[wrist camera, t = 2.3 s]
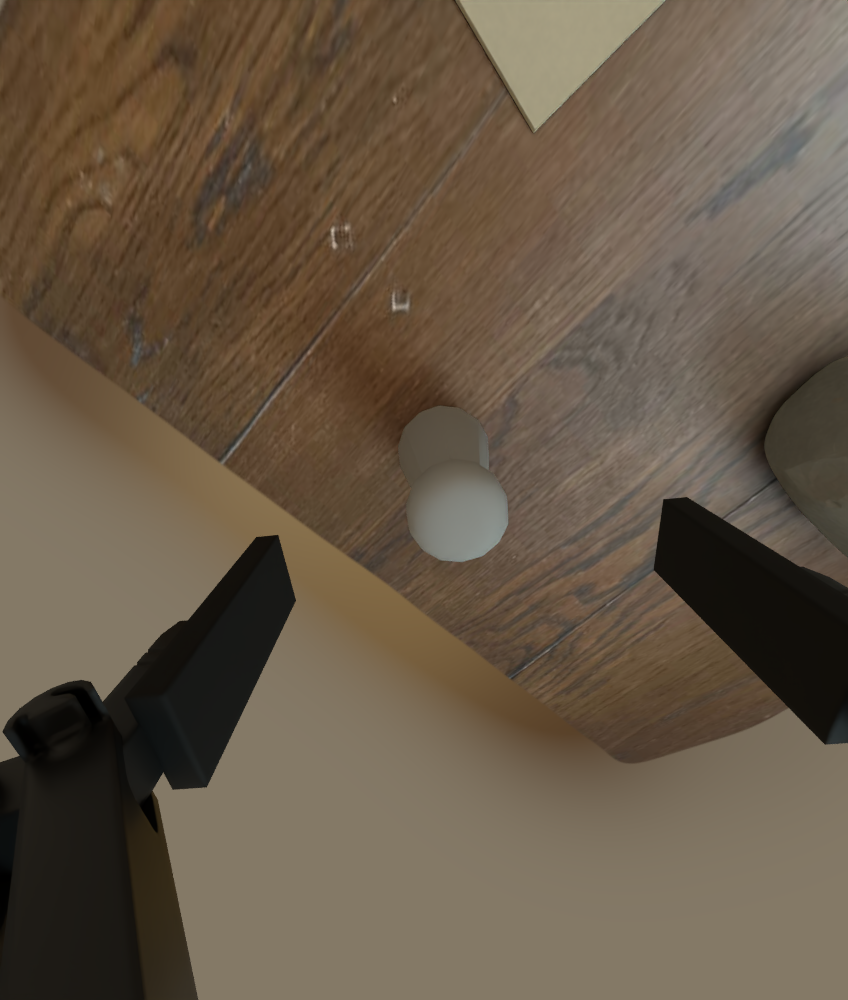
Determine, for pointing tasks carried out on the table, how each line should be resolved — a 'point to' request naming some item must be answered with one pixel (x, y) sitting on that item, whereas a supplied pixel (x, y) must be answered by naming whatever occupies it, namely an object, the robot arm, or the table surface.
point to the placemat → (551, 44)
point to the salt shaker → (451, 485)
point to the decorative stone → (815, 450)
